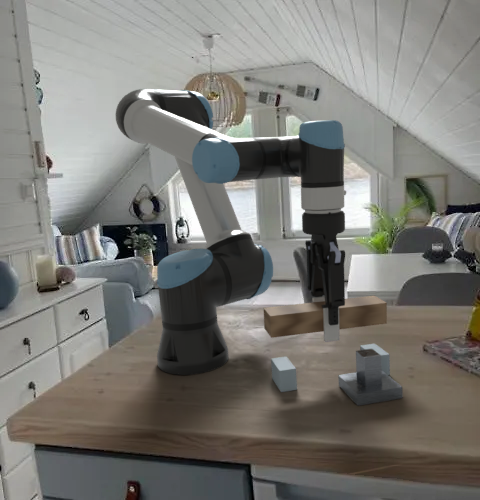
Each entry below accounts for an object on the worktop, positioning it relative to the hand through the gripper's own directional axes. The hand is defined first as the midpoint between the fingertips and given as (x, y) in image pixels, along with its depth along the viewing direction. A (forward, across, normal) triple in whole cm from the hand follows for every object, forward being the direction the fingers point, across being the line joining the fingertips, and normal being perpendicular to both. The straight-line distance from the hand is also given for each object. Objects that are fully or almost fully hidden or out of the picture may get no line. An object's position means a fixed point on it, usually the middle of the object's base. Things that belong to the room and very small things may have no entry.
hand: (325, 334), depth 91 cm
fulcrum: (+8, -9, -4) cm, 13 cm away
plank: (-2, 0, 0) cm, 2 cm away
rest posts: (+8, -1, 0) cm, 8 cm away
